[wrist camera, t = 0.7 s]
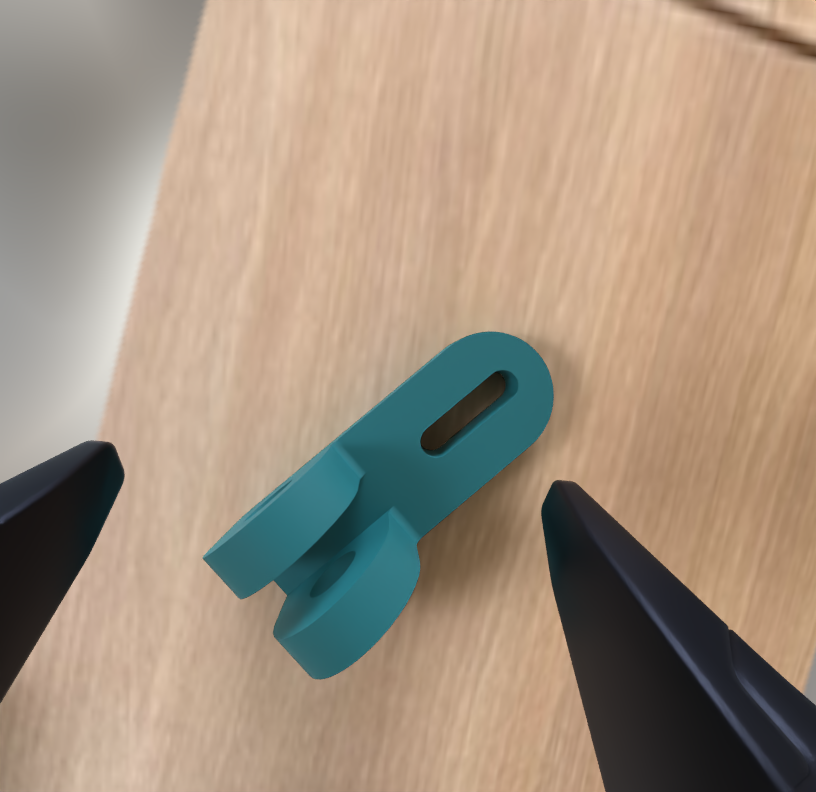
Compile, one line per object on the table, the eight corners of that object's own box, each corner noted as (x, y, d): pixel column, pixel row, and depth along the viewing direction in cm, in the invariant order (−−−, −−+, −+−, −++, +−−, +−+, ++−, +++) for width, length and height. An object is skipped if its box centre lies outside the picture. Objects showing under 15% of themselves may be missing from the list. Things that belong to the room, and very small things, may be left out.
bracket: (321, 603, 24) (293, 714, 16) (243, 515, 23) (173, 585, 15) (560, 402, 24) (647, 414, 16) (488, 312, 24) (542, 278, 16)
